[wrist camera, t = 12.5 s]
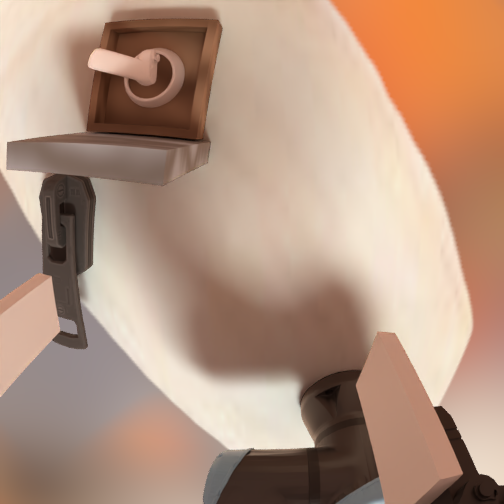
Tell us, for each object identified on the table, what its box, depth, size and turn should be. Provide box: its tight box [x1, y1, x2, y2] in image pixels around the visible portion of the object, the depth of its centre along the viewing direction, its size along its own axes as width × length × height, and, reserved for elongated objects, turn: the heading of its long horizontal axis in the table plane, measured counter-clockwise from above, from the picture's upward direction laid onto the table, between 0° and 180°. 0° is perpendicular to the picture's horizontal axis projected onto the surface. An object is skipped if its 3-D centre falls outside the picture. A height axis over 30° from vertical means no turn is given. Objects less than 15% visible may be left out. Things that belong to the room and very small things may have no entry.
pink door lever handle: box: [88, 48, 185, 108], centre depth 29 cm, size 8×12×7 cm
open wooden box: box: [7, 19, 222, 186], centre depth 25 cm, size 17×16×16 cm
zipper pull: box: [39, 174, 96, 349], centre depth 39 cm, size 9×7×25 cm
